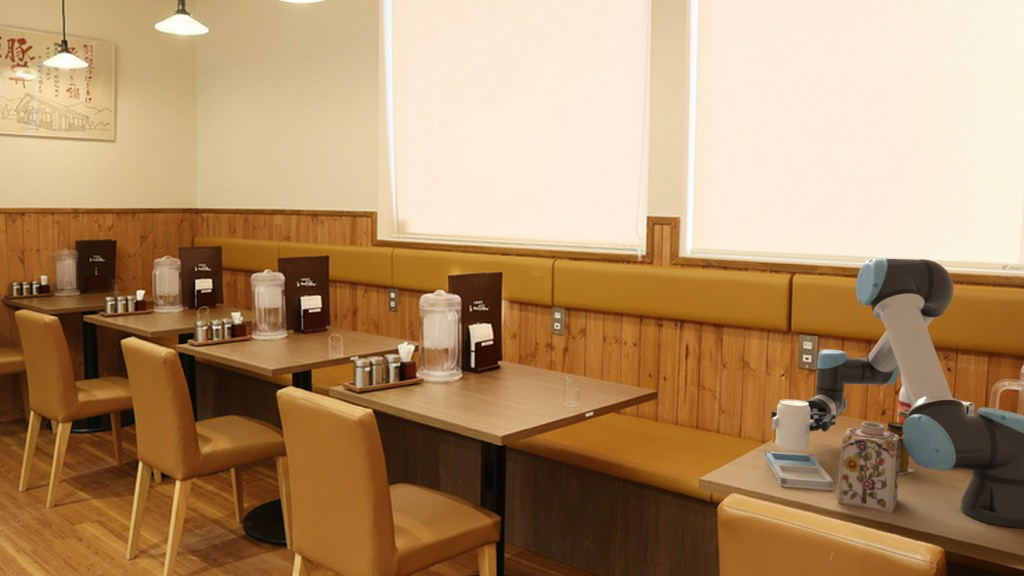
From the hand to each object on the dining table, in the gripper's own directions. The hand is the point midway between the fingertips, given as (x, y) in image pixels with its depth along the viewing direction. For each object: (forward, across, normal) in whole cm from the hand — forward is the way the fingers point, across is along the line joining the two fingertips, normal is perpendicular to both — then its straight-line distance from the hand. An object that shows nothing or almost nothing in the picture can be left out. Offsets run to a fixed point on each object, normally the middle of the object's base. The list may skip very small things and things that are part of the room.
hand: (788, 426), depth 210 cm
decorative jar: (+10, -22, -12) cm, 27 cm away
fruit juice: (-56, -18, -12) cm, 60 cm away
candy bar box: (-43, -29, -12) cm, 53 cm away
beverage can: (-5, 0, -7) cm, 8 cm away
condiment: (-21, -21, -12) cm, 32 cm away
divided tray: (0, -3, -11) cm, 12 cm away
